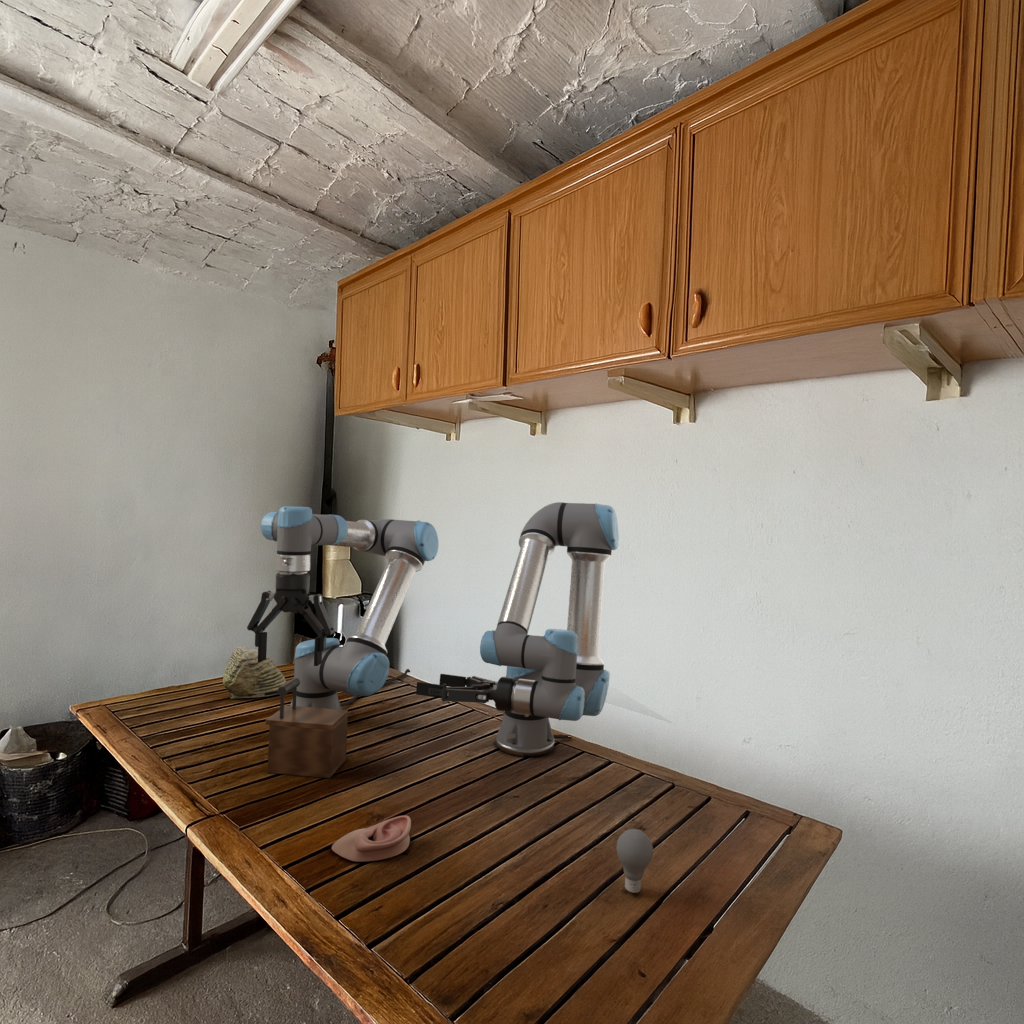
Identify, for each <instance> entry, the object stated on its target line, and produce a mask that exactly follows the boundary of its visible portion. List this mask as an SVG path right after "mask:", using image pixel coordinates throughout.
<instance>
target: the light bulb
mask: <svg viewBox="0 0 1024 1024" xmlns="http://www.w3.org/2000/svg"><path fill="white" fill-rule="evenodd" d="M615 849H616V854H617V857H618V859H619V861H620V863H621V865H622V867H623V873H624V874H623V875H624V876H625V878H624V888H625V890H627V891H628V892H630V893H634V894H635V893H639V892H640V891H641V889H642V887H641V886H642V879H643V877H644V875H645V871H646V868H647V867H648V866H649V864H650V863H651V861H652V859H653V855H654V847H653V843H652V841H651V838H649V836H648V835H647V834H646V833H645V832H643V831H642V830H641V829H636V828H629V829H627V830H625V831H623V832H622V833H621V834H620V835H619V837H618V839H617V841H616V847H615Z"/></svg>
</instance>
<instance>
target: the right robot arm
mask: <svg viewBox="0 0 1024 1024" xmlns="http://www.w3.org/2000/svg"><path fill="white" fill-rule="evenodd" d="M618 524H619V523H618V517H617V513H616V510H615V508H614V507H613V506H611V505H608V504H601V503H585V502H583V503H581V502H580V503H579V502H561V501H559V502H553V503H549V504H546V505H545V506H543V507H542V508H540V509H539V510H537V511H536V512H534V514H533V515H532V516H530V518H529V519H528V520H527V522H526V523H525V525H524V527H522V529H521V532H520V535H519V538H518V546H519V547H520V548H519V552H518V556H517V559H516V562H515V565H514V568H513V572H512V574H511V579H510V581H509V584H508V588H507V591H506V594H505V598H504V601H503V604H502V607H501V611H500V614H499V618H498V621H497V624H496V628H495V630H494V629H493V630H486V631H485V632H484V633H483V634H482V636H481V639H480V644H479V655H480V658H481V660H482V661H483V662H484V663H485V664H490V665H494V666H499V667H502V666H503V667H506V670H505V671H506V672H505V673H506V674H505V676H501V677H499V679H498V680H497V681H495V680H492V679H487V678H483V677H479V676H476V675H473V676H462V675H455V674H446V673H440V674H439V683H438V684H437V683H429V682H424V681H423V682H422V681H417V682H416V690H415V695H417V696H422V697H431V698H437V699H441V701H442V702H458V703H459V702H460V703H478V704H482V705H483V704H487V703H489V702H490V701H494V707H495V709H496V710H497V711H500V712H504V713H503V716H502V717H503V718H502V720H501V723H500V725H499V728H498V731H497V733H496V738H495V739H496V740H495V745H496V747H497V748H498V750H500V751H502V752H504V753H506V754H509V755H512V756H518V757H526V758H527V757H530V758H531V757H540V756H545V755H547V754H549V753H551V752H552V751H554V749H555V739H559V740H560V739H561V740H572V738H573V737H572V735H571V734H554V733H553V729H552V727H551V723H550V719H553V720H554V719H555V720H558V721H571V722H572V721H573V722H577V721H579V720H580V719H582V717H583V716H585V717H586V716H587V717H597V716H599V715H600V714H601V713H602V711H603V709H604V706H605V703H606V700H607V696H608V691H609V685H610V678H611V677H610V676H611V675H610V671H608V670H607V669H605V662H604V661H603V659H602V658H601V657H600V641H601V640H600V639H601V625H602V624H601V623H602V612H603V611H602V610H603V597H604V596H603V595H604V584H605V583H604V582H605V581H604V580H605V569H606V568H605V566H606V563H607V561H608V560H609V559H610V558H612V553H613V552H612V551H615V550H616V551H617V549H618V548H619V540H620V539H619V537H620V536H619V525H618ZM556 547H566V554H567V555H568V557H569V558H570V559H571V568H570V569H571V570H570V583H569V595H568V608H567V609H568V610H567V613H568V614H567V624H566V629H562V628H548V629H546V630H545V631H544V635H531V634H529V630H530V627H531V623H532V618H533V615H534V611H535V607H536V604H537V600H538V596H539V592H540V589H541V585H542V581H543V579H544V574H545V571H546V567H547V563H548V559H549V556H551V555H552V554H554V552H555V548H556ZM568 736H571V737H568Z"/></svg>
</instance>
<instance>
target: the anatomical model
mask: <svg viewBox="0 0 1024 1024" xmlns="http://www.w3.org/2000/svg"><path fill="white" fill-rule="evenodd" d="M411 828H412V820H411V817H410V816H409V815H406V814H405V815H399V816H395V817H392V818H389V819H386V820H383V821H380V822H378V823H377V824H374V825H372V826H369V827H365V828H364V827H363V828H359V829H355V830H352V831H351V832H348V833H346V834H345V835H343V836H342V837H340V838H338V840H336V841H335V842H334V843H333V844H332V845H331V850H332V852H334V853H335V854H337V855H338V856H340V857H341V858H343V859H345V860H348V861H351V862H354V863H356V862H357V863H361V862H364V863H365V862H374V861H380V860H381V861H382V860H385V859H386V860H387V859H389V858H393V857H395V856H398V855H400V854H403V852H405V851H406V850H407V849H408V848H409V845H410V842H411V837H410V832H411Z"/></svg>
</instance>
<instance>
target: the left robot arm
mask: <svg viewBox="0 0 1024 1024" xmlns="http://www.w3.org/2000/svg"><path fill="white" fill-rule="evenodd" d="M260 532H261V534H262V536H263V537H264V538H265V539H266V540H269V541H273V542H276V563H275V564H276V565H275V571H277V573H276V574H275V592H273V591H271V590H266V591H263V592H262V593H261V596H260V602H259V603H258V605H257V607H256V609H255V611H254V613H253V615H252V617H251V619H250V621H249V623H248V625H247V626H246V629H247V631H251V632H253V633H254V647H255V648H258V662H262V661H264V660H266V654H267V651H268V650H267V649H268V631H266V629H267V628H268V627H269V625H270V624H271V623H272V622H273V621H274V620H275V619H276V618H277V617H278V616H279V614H280V613H281V612H283V613H293V614H297V613H299V614H300V615H301V616H302V617H303V618H304V619H305V621H306V622H307V623H308V625H309V626H310V627H311V629H312V631H314V633H315V634H316V635H317V636H316V637H314V638H313V639H308V640H304V641H302V642H299V643H298V644H297V645H296V647H295V652H294V653H295V654H294V657H293V662H294V663H293V665H294V666H293V678H298V679H299V680H300V684H299V686H297V694H296V706H299V707H312V708H325V709H338V710H343V709H342V707H346V706H348V705H350V704H351V703H352V702H354V701H356V699H358V698H360V697H370V696H372V695H374V694H376V693H378V692H379V691H380V690H381V689H382V688H383V687H384V686H385V685H388V684H391V683H393V682H395V681H397V680H399V679H401V678H403V677H405V676H407V675H408V673H411V670H410V669H409V668H406V669H405V671H404V672H403V673H402V674H400V675H398V676H396V677H393V678H391V679H389V680H387V679H388V677H389V674H390V669H389V668H390V660H389V658H388V656H387V655H388V649H387V647H386V644H387V641H388V638H389V636H390V633H391V631H392V629H393V627H394V624H395V622H396V619H397V617H398V614H399V612H400V609H401V607H402V605H403V602H404V600H405V597H406V595H407V592H408V591H409V588H410V586H411V583H412V580H413V578H414V576H415V574H416V573H417V572H421V571H422V569H423V567H424V565H425V563H426V562H431V561H433V560H435V558H436V556H437V555H438V551H439V535H438V532H437V530H436V527H435V526H434V525H433V524H432V523H430V522H429V521H422V520H405V519H392V518H391V519H390V518H389V519H387V518H386V519H359V520H357V521H351V520H346V519H345V518H344V517H343V516H341V515H338V514H333V513H332V514H330V513H329V514H316V513H313V509H312V507H309V506H294V505H293V506H290V505H289V506H287V505H285V506H281V507H280V508H279V510H278V511H270V512H268V513H266V514H265V515H264V516H263V517H262V519H261V522H260ZM313 546H331V547H333V546H334V547H346V548H353V549H354V550H355V551H358V552H364V553H370V554H374V555H377V556H378V555H379V556H382V557H385V559H386V560H387V562H386V564H385V567H384V570H383V571H382V574H381V575H380V578H379V580H378V583H377V585H376V587H375V589H374V592H373V594H372V596H371V599H370V601H369V603H368V606H367V608H366V610H365V612H364V614H363V617H362V618H361V620H360V624H359V626H358V628H357V630H356V633H354V634H353V635H350V636H348V637H347V639H346V641H345V644H344V646H341V645H340V644H341V643H340V640H339V638H335V637H329V636H331V635H333V634H335V632H336V630H335V627H334V625H333V623H332V621H331V618H330V616H329V614H328V611H327V609H326V607H325V605H324V599H323V594H322V593H318V594H311V593H310V585H311V584H310V583H311V581H310V580H311V574H310V573H309V571H311V554H312V547H313ZM273 599H274V601H275V603H276V605H275V606H274V607H272V609H271V611H270V612H269V613H268V614H267V615H266V616H265V617H264V619H262V618H263V616H264V615H265V613H266V611H267V609H268V607H269V605H270V603H271V601H273ZM309 602H311V604H313V606H314V609H315V612H316V615H317V617H316V615H315V613H313V611H312V608H311V607H310V605H309ZM338 692H341V693H345V694H349V695H352V696H353V697H351V698H350V699H349V700H348V701H345V702H340V699H339V695H338ZM292 701H293V698H292V699H291V702H290V704H289V706H292Z"/></svg>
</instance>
